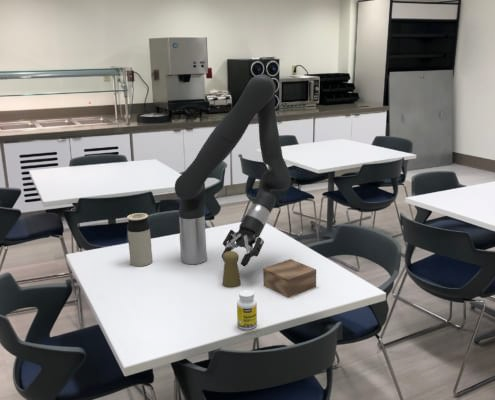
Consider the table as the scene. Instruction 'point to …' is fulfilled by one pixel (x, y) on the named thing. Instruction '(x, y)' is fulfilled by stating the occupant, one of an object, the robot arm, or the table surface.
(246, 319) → the supplement bottle
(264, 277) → the walnut riser
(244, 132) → the robot arm
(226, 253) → the cork
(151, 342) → the table surface
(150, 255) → the travel mug
